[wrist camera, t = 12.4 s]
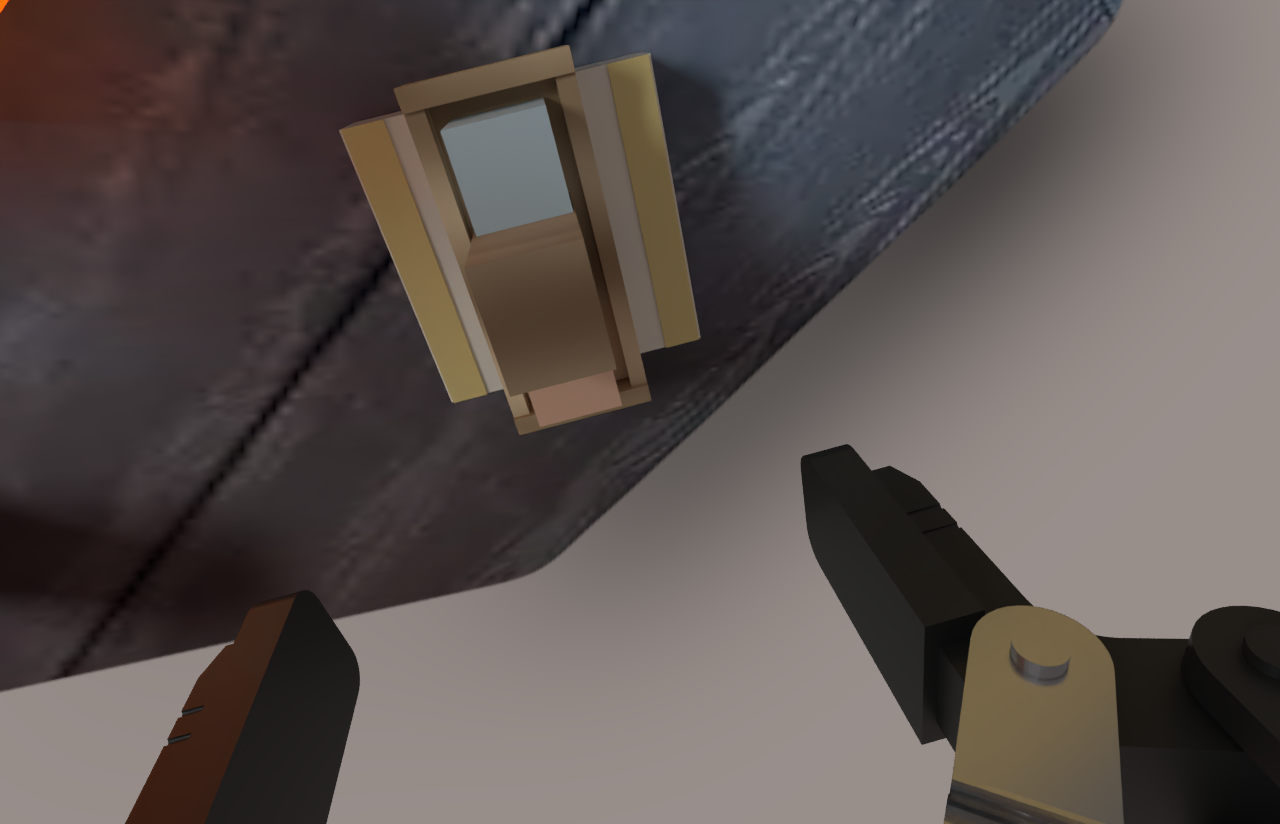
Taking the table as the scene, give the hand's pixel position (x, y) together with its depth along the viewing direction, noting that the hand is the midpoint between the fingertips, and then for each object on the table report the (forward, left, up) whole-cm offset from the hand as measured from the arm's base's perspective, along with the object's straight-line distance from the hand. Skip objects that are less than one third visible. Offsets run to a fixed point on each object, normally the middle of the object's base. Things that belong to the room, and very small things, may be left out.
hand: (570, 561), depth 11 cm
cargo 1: (-4, 0, -18) cm, 19 cm away
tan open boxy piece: (0, 0, -20) cm, 20 cm away
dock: (0, 0, -23) cm, 23 cm away
